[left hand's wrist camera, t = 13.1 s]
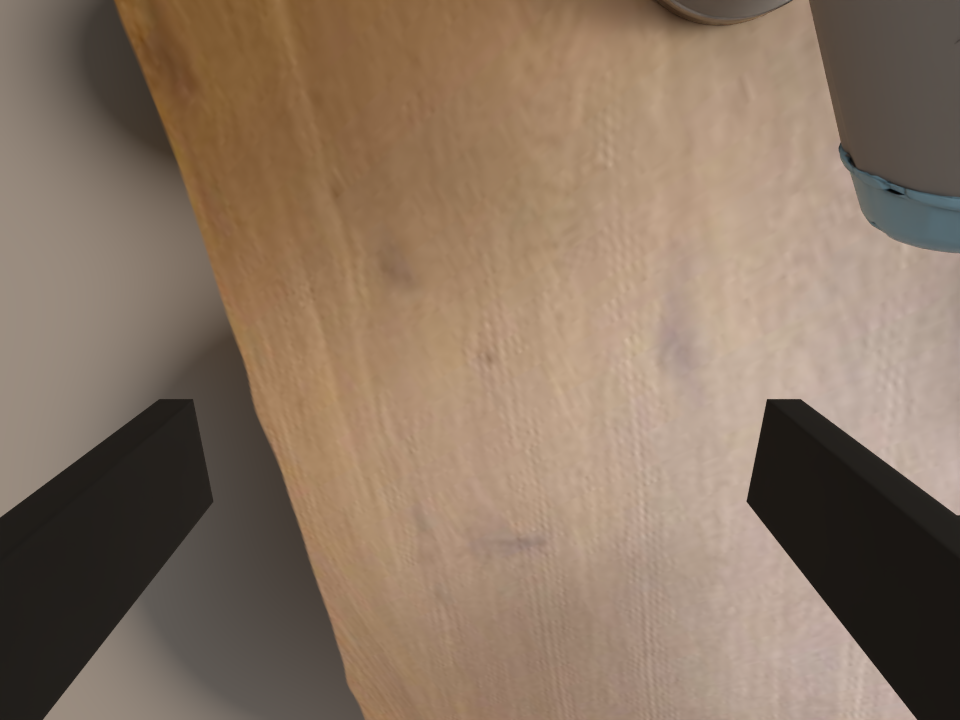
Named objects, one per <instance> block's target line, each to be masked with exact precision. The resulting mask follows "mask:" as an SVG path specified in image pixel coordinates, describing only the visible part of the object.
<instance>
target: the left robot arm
mask: <svg viewBox="0 0 960 720" xmlns="http://www.w3.org/2000/svg"><path fill="white" fill-rule="evenodd" d="M656 1H657V2H658V3H659V4H661V5H662V6H663V7H665V8H666V9H667V10H669V11H671V12H672V13H674V14H676V15H677V16H680V17H682V18H684V19H687V20H690V21H693V22H697V23H702V24H707V25H731V24H737V23H742V22H746V21H750V20H753V19H756V18H758V17H761V16H763V15H765V14H767V13H769V12H771V11H773V10H775V9H777V8H779V7H781V6H783V5H785V4H787V3H789V2H790V1H792V0H656ZM809 2H810V7H811V11H812V16H813V20H814V24H815V29H816V33H817V38H818V42H819V47H820V51H821V55H822V60H823V64H824V69H825V73H826V78H827V82H828V86H829V91H830V95H831V100H832V104H833V109H834V113H835V117H836V122H837V126H838V131H839V135H840V140H841V143H840V146H839V153H840V158H841V160H842V162H843V164H844V166H845V167H846V168H847V169H848V170H849V171H850V174H851V177H852V180H853V184H854V187H855V190H856V194H857V197H858V200H859V204H860V207H861V210H862V212H863V214H864V216H865V217H866V219H867V220H868V221H869V223H870V224H871V225H872V226H874V227H876V228H878V229H879V230H881V231H883V232H884V233H886V234H887V235H888V236H889V237H890V238H892V239H894V240H897V241H899V242H902V243H905V244H909V245H912V246H915V247H919V248H924V249H929V250H935V251H941V252H950V253H960V0H809ZM212 503H213V497H212V492H211V487H210V483H209V477H208V472H207V467H206V462H205V457H204V452H203V447H202V442H201V438H200V432H199V427H198V422H197V417H196V412H195V407H194V402H193V399H159V400H158V401H156V402H155V403H154V404H152V405H151V406H150V407H148V408H147V409H146V410H144V411H143V412H142V413H140V414H139V415H138V416H136V417H135V418H134V419H132V420H131V421H130V422H128V423H127V424H125V425H124V426H123V427H121V428H120V429H119V430H117V431H116V432H115V433H113V434H112V435H111V436H109V437H108V438H107V439H105V440H104V441H103V442H101V443H100V444H99V445H97V446H96V447H95V448H93V449H92V450H91V451H89V452H88V453H86V454H85V455H84V456H82V457H81V458H80V459H78V460H77V461H76V462H74V463H73V464H72V465H70V466H69V467H68V468H66V469H65V470H64V471H62V472H61V473H60V474H58V475H57V476H56V477H54V478H53V479H52V480H50V481H49V482H47V483H46V484H45V485H44V486H42V487H41V488H39V489H38V490H37V491H36V492H34V493H33V494H31V495H30V496H29V497H27V498H26V499H25V500H23V501H22V502H21V503H19V504H18V505H17V506H15V507H14V508H13V509H11V510H10V511H8V512H7V513H6V514H4V515H3V516H2V517H0V720H43V719H44V717H45V716H46V715H47V714H48V712H49V711H50V710H51V708H52V707H53V706H54V705H55V703H56V702H57V701H58V700H59V698H60V697H61V696H62V694H63V693H64V692H65V690H66V689H67V688H68V687H69V685H70V684H71V683H72V682H73V680H74V679H75V678H76V676H77V675H78V674H79V673H80V671H81V670H82V669H83V668H84V666H85V665H86V664H87V662H88V661H89V660H90V659H91V657H92V656H93V655H94V654H95V652H96V651H97V650H98V648H99V647H100V646H101V645H102V643H103V642H104V641H105V639H106V638H107V637H108V636H109V634H110V633H111V632H112V630H113V629H114V628H115V627H116V625H117V624H118V623H119V622H120V620H121V619H122V618H123V616H124V615H125V614H126V613H127V611H128V610H129V609H130V608H131V606H132V605H133V604H134V602H135V601H136V600H137V599H138V597H139V596H140V595H141V593H142V592H143V591H144V590H145V588H146V587H147V586H148V585H149V583H150V582H151V581H152V579H153V578H154V577H155V576H156V574H157V573H158V572H159V570H160V569H161V568H162V567H163V565H164V564H165V563H166V562H167V560H168V559H169V558H170V556H171V555H172V554H173V553H174V551H175V550H176V549H177V547H178V546H179V545H180V544H181V542H182V541H183V540H184V539H185V537H186V536H187V535H188V533H189V532H190V531H191V530H192V528H193V527H194V526H195V524H196V523H197V522H198V521H199V519H200V518H201V517H202V516H203V514H204V513H205V512H206V510H207V509H208V508H209V506H210V505H211V504H212ZM747 503H748V504H749V505H750V507H751V508H752V509H753V510H754V512H755V513H756V514H757V516H758V517H759V518H760V519H761V521H762V522H763V523H764V524H765V526H766V527H767V528H768V530H769V531H770V532H771V533H772V535H773V536H774V537H775V539H776V540H777V541H778V542H779V544H780V545H781V546H782V547H783V549H784V550H785V551H786V553H787V554H788V555H789V556H790V558H791V559H792V560H793V562H794V563H795V564H796V565H797V567H798V568H799V569H800V570H801V572H802V573H803V574H804V576H805V577H806V578H807V579H808V581H809V582H810V583H811V585H812V586H813V587H814V588H815V590H816V591H817V592H818V593H819V595H820V596H821V597H822V599H823V600H824V601H825V602H826V604H827V605H828V606H829V608H830V609H831V610H832V611H833V613H834V614H835V615H836V616H837V618H838V619H839V620H840V622H841V623H842V624H843V625H844V627H845V628H846V629H847V631H848V632H849V633H850V634H851V636H852V637H853V638H854V639H855V641H856V642H857V643H858V645H859V646H860V647H861V648H862V650H863V651H864V652H865V654H866V655H867V656H868V657H869V659H870V660H871V661H872V662H873V664H874V665H875V666H876V668H877V669H878V670H879V671H880V673H881V674H882V675H883V677H884V678H885V679H886V680H887V682H888V683H889V684H890V685H891V687H892V688H893V689H894V691H895V692H896V693H897V694H898V696H899V697H900V698H901V700H902V701H903V702H904V703H905V705H906V706H907V707H908V708H909V710H910V711H911V712H912V714H913V715H914V716H915V717H916V719H917V720H960V515H956V514H954V513H953V512H952V511H950V510H949V509H947V508H946V507H945V506H943V505H942V504H941V503H939V502H938V501H937V500H935V499H934V498H933V497H931V496H930V495H929V494H927V493H926V492H925V491H923V490H922V489H921V488H919V487H918V486H917V485H915V484H914V483H913V482H911V481H910V480H908V479H907V478H906V477H904V476H903V475H902V474H900V473H899V472H898V471H896V470H895V469H894V468H892V467H891V466H890V465H888V464H887V463H886V462H884V461H883V460H882V459H880V458H879V457H878V456H876V455H875V454H874V453H872V452H871V451H869V450H868V449H867V448H865V447H864V446H863V445H861V444H860V443H859V442H857V441H856V440H855V439H853V438H852V437H851V436H849V435H848V434H847V433H845V432H844V431H843V430H841V429H840V428H839V427H837V426H836V425H835V424H833V423H832V422H830V421H829V420H828V419H826V418H825V417H824V416H822V415H821V414H820V413H818V412H817V411H816V410H814V409H813V408H812V407H810V406H809V405H808V404H806V403H805V402H804V401H802V400H801V399H767V402H766V407H765V412H764V417H763V422H762V427H761V432H760V437H759V442H758V447H757V452H756V457H755V462H754V467H753V472H752V477H751V482H750V487H749V492H748V497H747Z"/></svg>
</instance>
